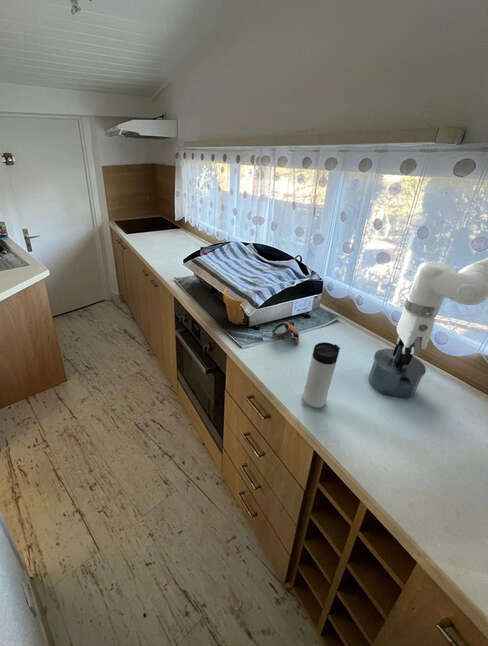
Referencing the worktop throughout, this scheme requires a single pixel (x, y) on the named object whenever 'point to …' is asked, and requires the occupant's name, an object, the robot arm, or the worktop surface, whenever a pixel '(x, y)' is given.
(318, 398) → the travel mug
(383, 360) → the lid
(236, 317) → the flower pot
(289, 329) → the brown goggles
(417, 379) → the pot
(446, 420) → the worktop surface
